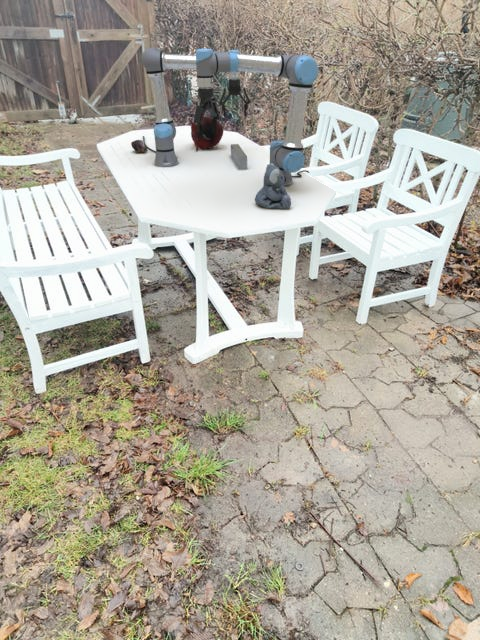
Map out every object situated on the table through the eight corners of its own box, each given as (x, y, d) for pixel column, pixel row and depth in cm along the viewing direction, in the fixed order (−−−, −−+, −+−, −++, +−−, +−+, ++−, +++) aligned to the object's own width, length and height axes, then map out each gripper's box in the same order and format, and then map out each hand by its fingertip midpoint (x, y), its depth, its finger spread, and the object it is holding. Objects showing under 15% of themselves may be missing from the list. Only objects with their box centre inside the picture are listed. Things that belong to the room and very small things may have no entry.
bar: (231, 156, 308) (230, 144, 304) (238, 156, 309) (238, 143, 305) (239, 169, 282) (239, 156, 278) (247, 169, 283) (247, 156, 278)
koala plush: (292, 209, 224) (294, 170, 213) (256, 210, 223) (257, 171, 212) (286, 197, 238) (288, 160, 227) (252, 199, 237) (253, 161, 226)
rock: (144, 151, 325) (130, 152, 321) (142, 138, 322) (128, 139, 318) (149, 152, 316) (135, 153, 312) (147, 139, 312) (133, 140, 308)
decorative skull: (189, 122, 333) (186, 119, 309) (220, 115, 332) (219, 111, 309) (196, 152, 340) (193, 151, 316) (226, 145, 339) (226, 144, 315)
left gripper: (215, 80, 274) (216, 117, 286) (255, 79, 278) (254, 116, 290) (213, 78, 281) (215, 115, 293) (252, 77, 284) (252, 113, 296)
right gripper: (198, 91, 197) (200, 142, 209) (225, 84, 215) (226, 131, 228) (183, 90, 200) (187, 140, 212) (212, 84, 218) (214, 130, 230)
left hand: (234, 115), depth 291 cm, fingers open, 13 cm apart
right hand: (207, 136), depth 220 cm, fingers open, 13 cm apart
